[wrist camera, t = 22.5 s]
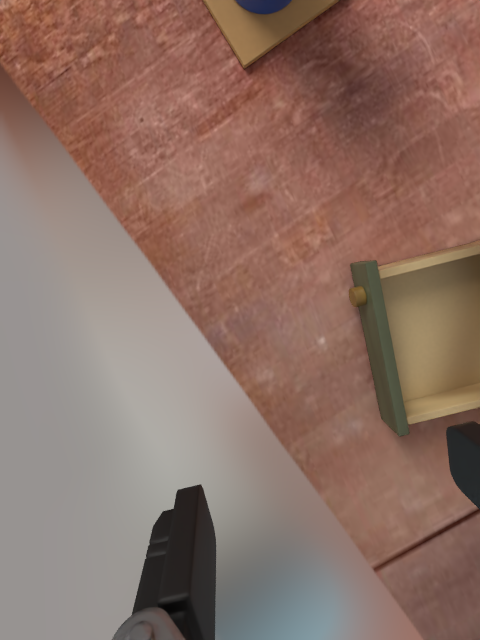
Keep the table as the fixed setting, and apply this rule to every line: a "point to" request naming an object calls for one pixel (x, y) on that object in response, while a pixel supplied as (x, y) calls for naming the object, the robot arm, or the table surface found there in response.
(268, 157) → the table surface
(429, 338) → the drawer
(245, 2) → the blue can
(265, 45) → the coaster
